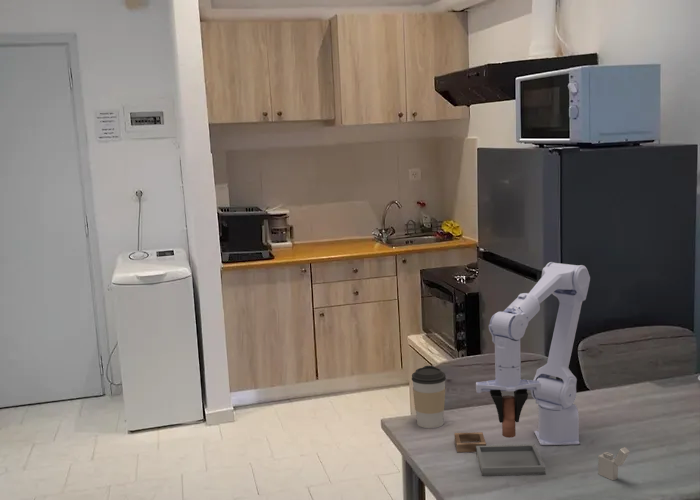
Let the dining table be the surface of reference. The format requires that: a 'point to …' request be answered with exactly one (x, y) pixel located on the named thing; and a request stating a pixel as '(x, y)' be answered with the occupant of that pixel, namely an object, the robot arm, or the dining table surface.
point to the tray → (510, 460)
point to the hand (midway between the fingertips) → (508, 420)
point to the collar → (469, 437)
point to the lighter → (611, 463)
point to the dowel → (508, 416)
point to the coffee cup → (429, 396)
